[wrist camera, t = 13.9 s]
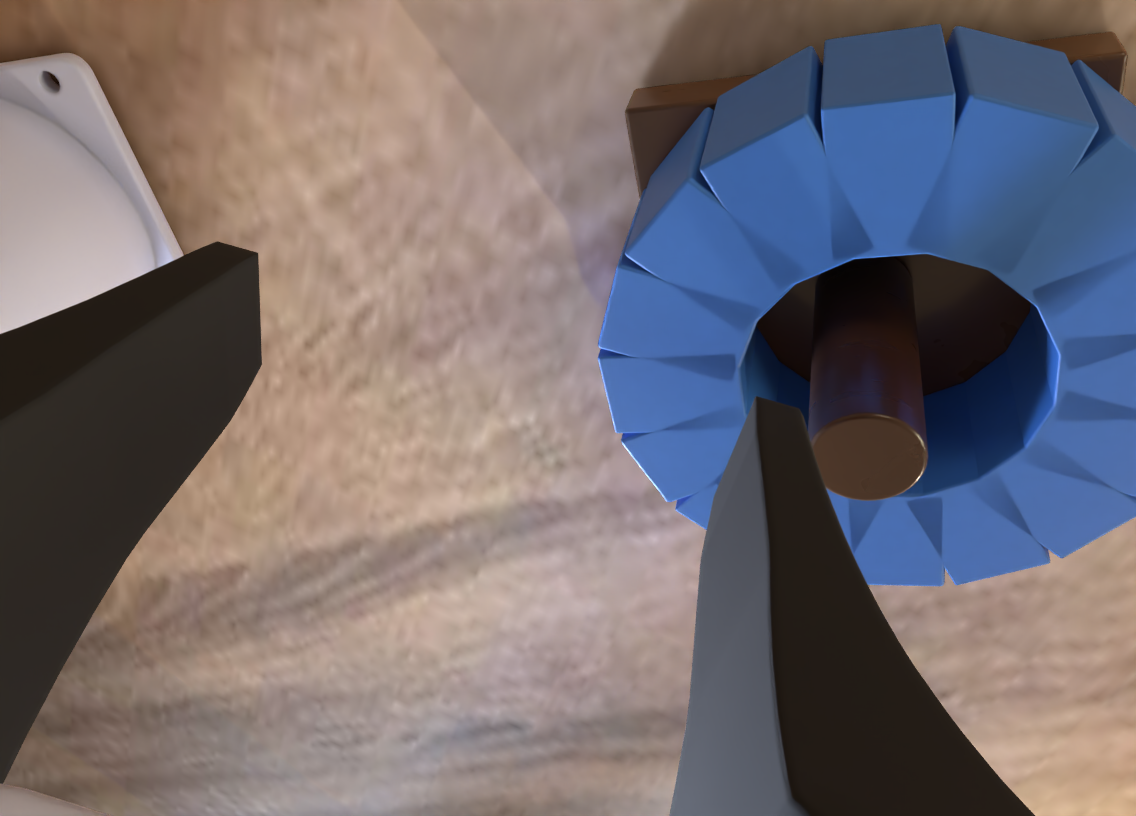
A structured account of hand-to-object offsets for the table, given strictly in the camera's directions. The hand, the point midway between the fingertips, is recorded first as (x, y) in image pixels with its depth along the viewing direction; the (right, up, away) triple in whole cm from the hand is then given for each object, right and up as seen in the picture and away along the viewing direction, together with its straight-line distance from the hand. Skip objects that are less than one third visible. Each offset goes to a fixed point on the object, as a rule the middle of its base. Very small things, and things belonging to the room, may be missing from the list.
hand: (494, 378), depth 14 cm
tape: (+8, +2, +7) cm, 11 cm away
